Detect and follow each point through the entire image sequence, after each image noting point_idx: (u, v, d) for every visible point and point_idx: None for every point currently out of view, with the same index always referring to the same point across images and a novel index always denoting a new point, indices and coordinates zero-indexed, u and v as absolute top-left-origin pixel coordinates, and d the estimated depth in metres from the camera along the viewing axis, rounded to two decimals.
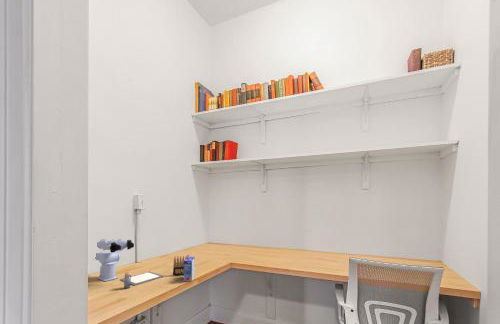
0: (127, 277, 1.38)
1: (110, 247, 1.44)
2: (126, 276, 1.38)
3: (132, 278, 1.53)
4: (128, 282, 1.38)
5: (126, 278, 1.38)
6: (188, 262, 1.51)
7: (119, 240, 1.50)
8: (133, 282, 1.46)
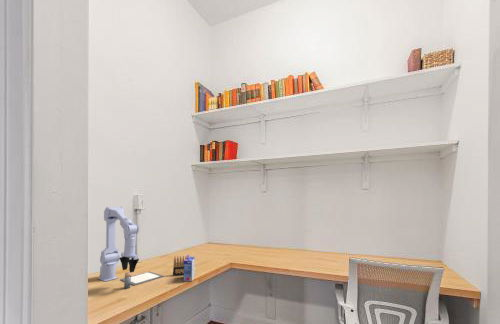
0: (127, 277, 1.38)
1: None
2: (126, 276, 1.38)
3: (132, 278, 1.53)
4: (128, 282, 1.38)
5: (126, 278, 1.38)
6: (188, 262, 1.51)
7: None
8: (133, 282, 1.46)
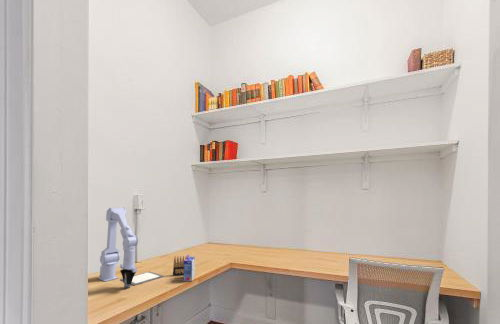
0: None
1: None
2: None
3: None
4: None
5: (126, 278, 1.38)
6: (188, 262, 1.51)
7: None
8: (133, 282, 1.46)
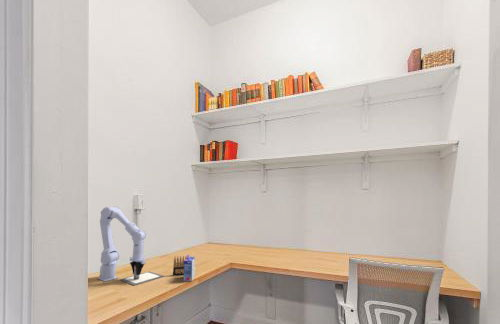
0: None
1: None
2: (135, 267, 1.51)
3: (132, 278, 1.53)
4: None
5: None
6: (188, 262, 1.51)
7: None
8: (133, 282, 1.46)
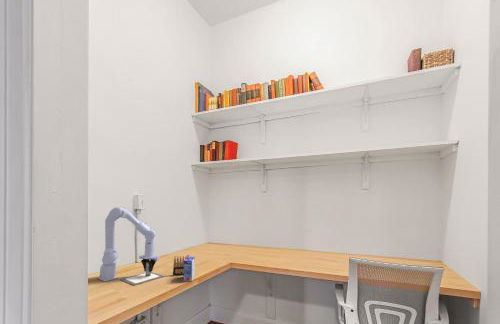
0: None
1: None
2: (148, 265, 1.57)
3: (132, 278, 1.53)
4: None
5: (148, 266, 1.57)
6: (188, 262, 1.51)
7: (145, 258, 1.56)
8: (133, 282, 1.46)
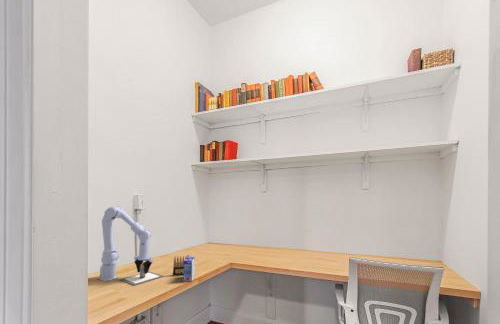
0: (143, 268, 1.54)
1: None
2: (142, 267, 1.54)
3: (132, 278, 1.53)
4: None
5: (142, 269, 1.54)
6: (188, 262, 1.51)
7: (139, 259, 1.54)
8: (133, 282, 1.46)
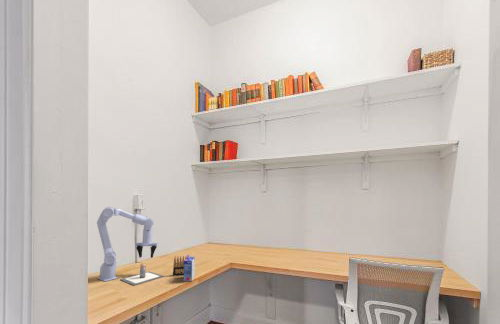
0: (143, 268, 1.54)
1: None
2: (142, 267, 1.54)
3: (132, 278, 1.53)
4: (144, 272, 1.54)
5: (142, 269, 1.54)
6: (188, 262, 1.51)
7: (144, 245, 1.63)
8: (133, 282, 1.46)
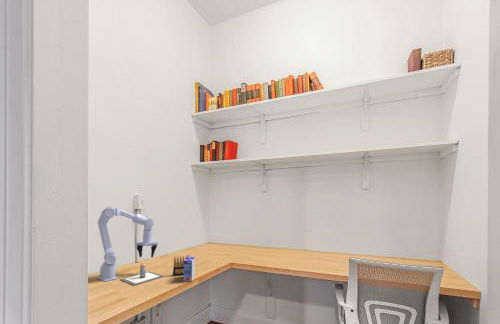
0: (143, 268, 1.54)
1: None
2: (142, 267, 1.54)
3: (132, 278, 1.53)
4: (144, 272, 1.54)
5: (142, 269, 1.54)
6: (188, 262, 1.51)
7: (145, 244, 1.64)
8: (133, 282, 1.46)
